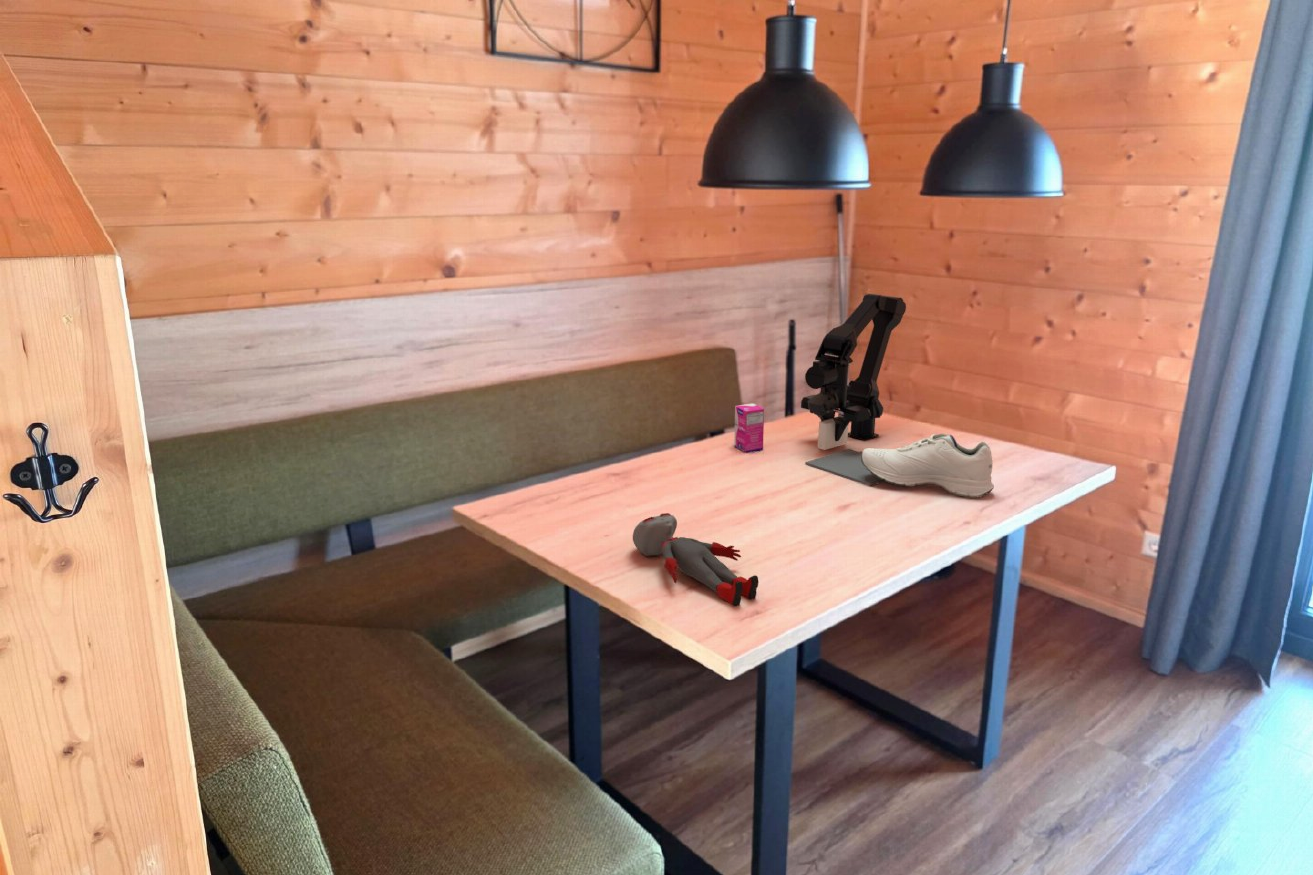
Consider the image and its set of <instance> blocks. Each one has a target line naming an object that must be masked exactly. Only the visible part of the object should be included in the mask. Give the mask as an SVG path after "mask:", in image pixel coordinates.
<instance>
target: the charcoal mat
mask: <svg viewBox="0 0 1313 875" xmlns="http://www.w3.org/2000/svg"><path fill="white" fill-rule="evenodd" d="M862 453H863V451H858V450H855V449H851V448H847V449H844V450H841V451H837V452H834V453H831V454H827V455H824V456H821V457H818V458H815V459H814V458H813V459H811V460H808V461H805V462H804V464H805V465H806V466H808V467H812V468H815V469H817V470H821V471H824V472H826V473H830V474H833V475H834V476H835V475H836V476H838V477H842V478H844V479H848V480H850V481H854V482H856V483H859V484H862V485H866V486H867V487H872V486H874V485H877V484H880V483H882V482H885V480H881V479H879V478H877V475H876V476H874V475H873V474H871V473H870V471H868V470H867V469H866V467H865V466H864V465H863V464H862V462H861V455H862Z"/></svg>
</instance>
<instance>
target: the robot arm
mask: <svg viewBox="0 0 1313 875" xmlns="http://www.w3.org/2000/svg"><path fill="white" fill-rule="evenodd" d="M906 311H907V304H906V302H905V301H904V299H903V298H902V297H900V296H899V297H897V296H891V295H888V296H887V295H881V294H876V293H875V294H874V293H867V294H864V296H863V298H862V300H861V302H860V303H859V305H858V306H857V307H856V308H855V310H854V311H853V312H852V313H851V314H850V315H849V316H848V317H847V319H846V320H845V321H844V323H843V324H841V325H839V326H836V327H833V328H832V329H830V330H829V331H828V332H827V333H826V335H825V336H824V337H823V339H822V341H821V344H820V346H819V349H818V350H817V353H816V355H815V357H814V360H813V362H812V366H811V367H808V369H807V370H806V372H805V375H804V378H805V382H806V384H807V385H808V387H810V388H811V389H813V390H819V389H820V392H819V393H817V394H812V395H807V396H803V398H802V399H801V401H800V408H801V409H804V410H809V413H810V414H814V415H816V416H817V417H818V418H819V420H820V422H821V421H825V420H828V419H832V418H833V420H834V421H835V423H836V424H835V441H839V439H840V438H841V436H842V434H843V432H844V430H845V429H846V427H847V425H848V426H849V425H850V431H848V437H851V438H854V439H858V440H861V441H867V440H868V441H869V440H870V439H873V438H878V437H879V436H880V434H879V433H877V432H875V429H876V419H880V418H881V417H882V415H883V412H884V406H883V405H882V403H881V401H880V400H879V396H880V390H879V387H878V382H877V381H878V378H879V374H880V371H881V368H882V364H883V361H884V358H885V355H886V354H885V353H886V350H887V347H888V344H889V341H890V337H891V335H892V331H893V330H895V328H896V327H898V325H900V323H901V322H902V318H903V317H904V314H905V313H906ZM871 322H872V324H873V328H872V331H871V334H870V338H869V341H868V343H867V347H866V350H865V354H864V357H863V361H862V364H861V368H860V371H859V374H858V377H856V378H855V379H854V380H852V379H851V380H850V381H849V382H848V380H849V366H850V364H852V363H853V362H854V360H853V359H852V358H851V356H852V355H853V353H854V351H855V350H856V348H857V346H858V338H859V336H860V335H861V333H862V332H863V331H864V330H865V329H866V328H867V326H868V325H869V324H870V323H871ZM836 413H838V414H837V416H836ZM849 423H850V424H849Z"/></svg>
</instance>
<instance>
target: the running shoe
mask: <svg viewBox="0 0 1313 875" xmlns="http://www.w3.org/2000/svg"><path fill="white" fill-rule="evenodd" d="M861 462H862V464H863V465H864V466H865V467H866V469H867V470H868V471H870V473H871V474H873V475H874V476H876V475H877V478H879V479H881V480H885V481H884V482H885V483H889V484H892V485H893V484H894V486H901V487H902V486H905V487H915V486H921V485H929V484H930V485H935V486H939V487H942V488H943V489H944V490H946V492H948V493H950V494H952V495H955V494H956V495H957V496H961V497H969V498H972V499H973V498H979V497H980V498H981V497H983V496H986V495H988V494H990V493H991V492H993V490H994V486H995V485H994V484H993V482H992V472H993V454H992V451H991V448H990V446H989V445H988V444H987V442H985V441H981V442H979V443H978V444H977V445H976V446H975V447H974V448H971V449H970V448H966V447H965V446H962V445H961V444H959V443H958V442H957V440H956V439H955V437H954V435H952V434H946V433H937V434H934V433H933V434H931V435H930V436H929V437H925V438H922V439H920V440H917V441H915V442H913V443H912V444H910V445H904V446H903V447H897V448H893V449H892V448H872V447H868V448H864V449H863V451H862V455H861Z"/></svg>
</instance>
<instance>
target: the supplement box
mask: <svg viewBox="0 0 1313 875" xmlns="http://www.w3.org/2000/svg"><path fill="white" fill-rule="evenodd" d="M764 426H765V408H763V407H761V406H759V405H757V404H756V403H754V402H753V403H746V404H740V405H735V407H734V444H733V445H734V447H735V448H736V449H738V450H740V451H742V452H744V453H745V454H746V453H752V452H760V451H764V433H765V432H764V431H765V430H764Z"/></svg>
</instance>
